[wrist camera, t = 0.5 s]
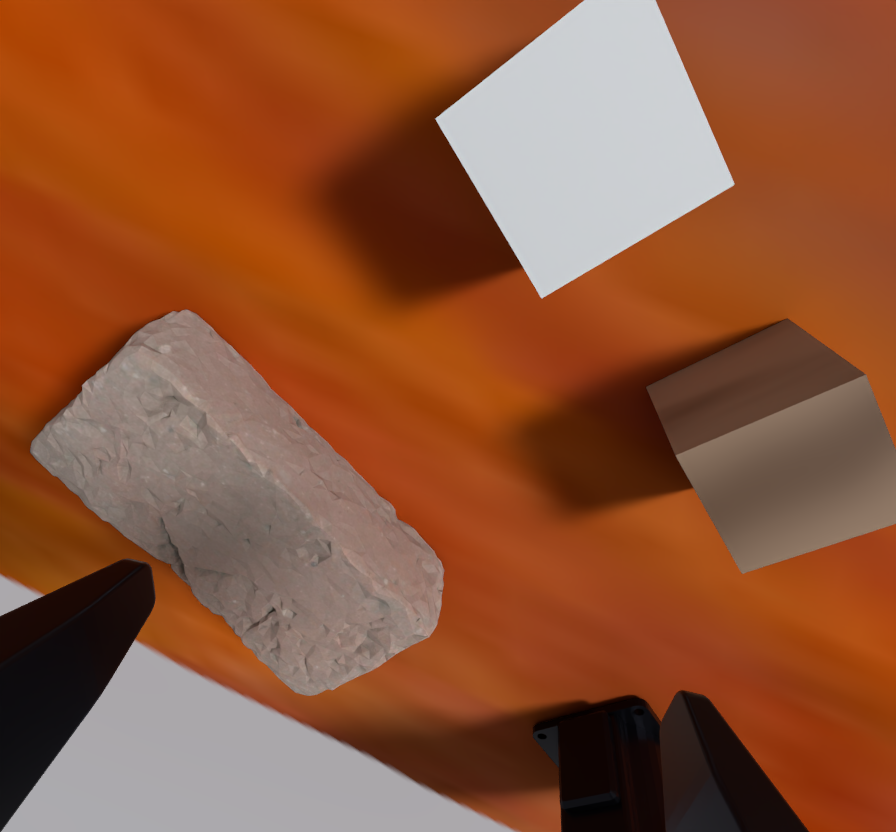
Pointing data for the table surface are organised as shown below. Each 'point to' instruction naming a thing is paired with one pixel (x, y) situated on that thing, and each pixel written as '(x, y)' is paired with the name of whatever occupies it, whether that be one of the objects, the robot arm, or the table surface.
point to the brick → (245, 505)
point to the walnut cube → (780, 445)
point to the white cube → (587, 140)
